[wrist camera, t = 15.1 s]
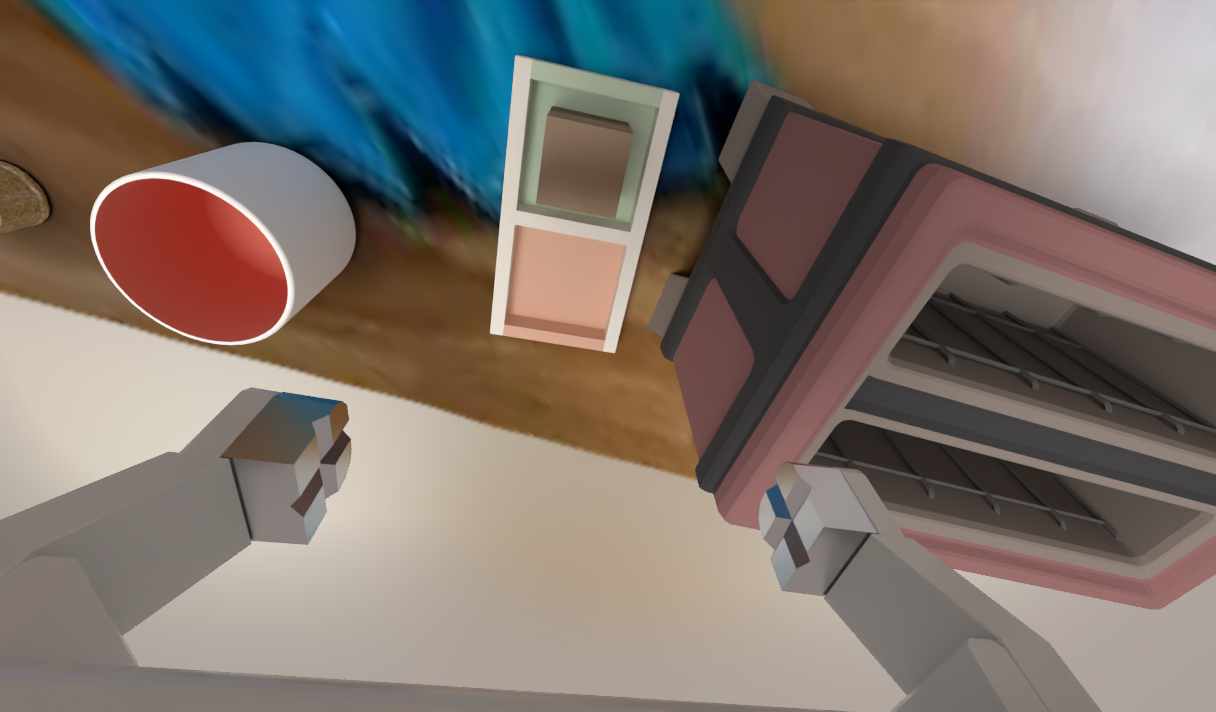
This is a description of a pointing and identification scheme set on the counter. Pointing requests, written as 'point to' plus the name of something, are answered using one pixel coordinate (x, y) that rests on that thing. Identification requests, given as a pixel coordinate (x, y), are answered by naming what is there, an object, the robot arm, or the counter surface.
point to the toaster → (951, 359)
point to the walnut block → (583, 162)
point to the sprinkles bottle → (20, 200)
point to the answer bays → (568, 240)
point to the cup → (224, 240)
